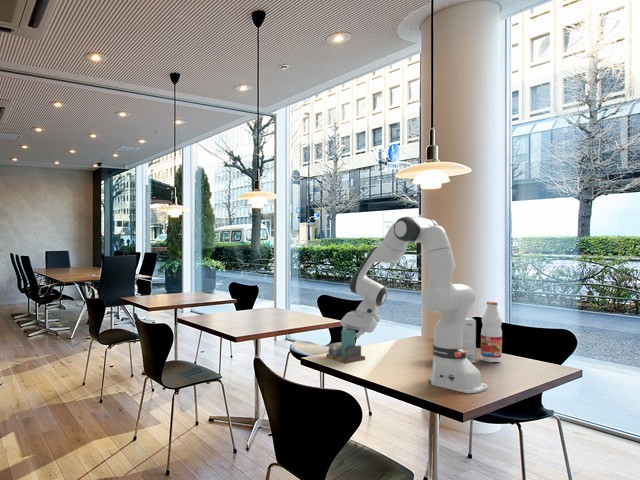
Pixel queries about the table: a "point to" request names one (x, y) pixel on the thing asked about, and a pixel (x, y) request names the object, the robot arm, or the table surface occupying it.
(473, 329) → the hard drive box
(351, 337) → the teal rectangular block
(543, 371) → the table surface
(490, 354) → the fruit juice
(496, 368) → the table surface
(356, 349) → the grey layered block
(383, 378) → the table surface
